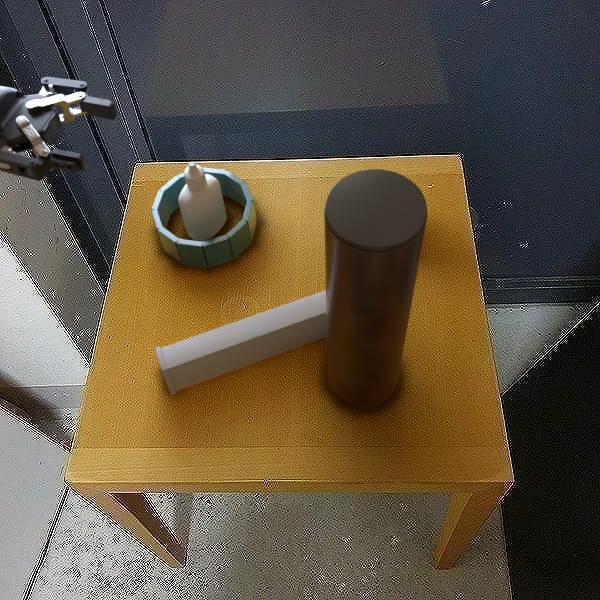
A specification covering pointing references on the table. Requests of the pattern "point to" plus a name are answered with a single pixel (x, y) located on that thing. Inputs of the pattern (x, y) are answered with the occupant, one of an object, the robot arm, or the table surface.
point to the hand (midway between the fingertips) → (100, 136)
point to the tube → (243, 342)
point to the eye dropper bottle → (201, 204)
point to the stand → (370, 281)
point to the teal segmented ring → (214, 248)
